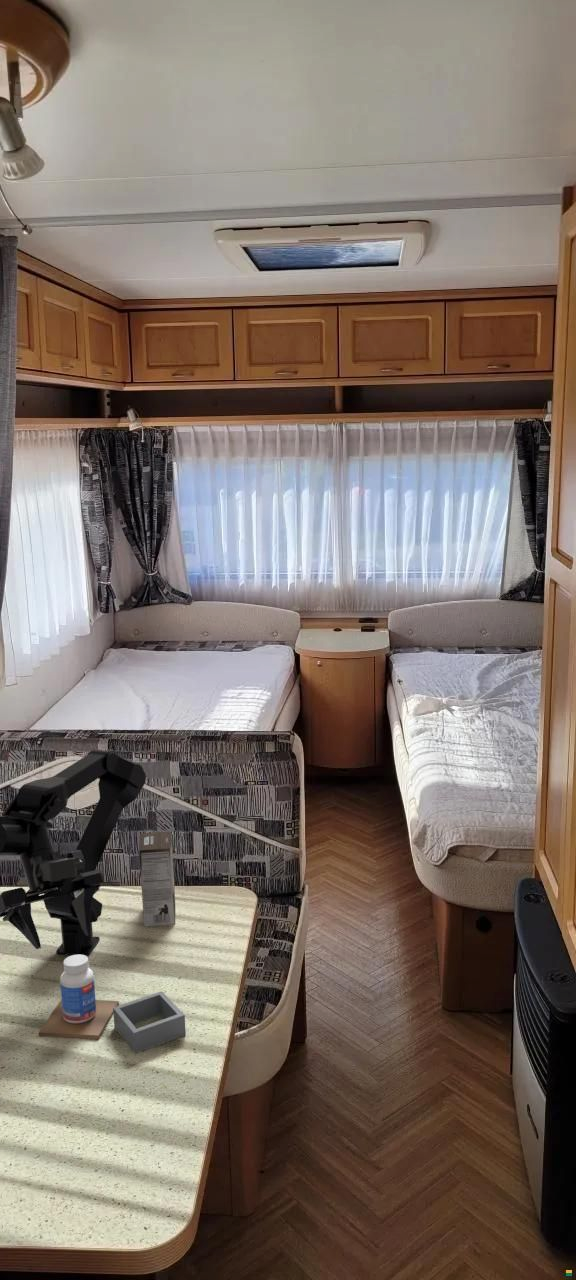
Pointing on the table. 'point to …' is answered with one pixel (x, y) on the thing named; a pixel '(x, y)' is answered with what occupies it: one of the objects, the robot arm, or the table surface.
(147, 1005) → the holder box
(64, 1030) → the walnut coaster
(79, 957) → the pill bottle
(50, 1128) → the table surface
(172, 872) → the coffee box
